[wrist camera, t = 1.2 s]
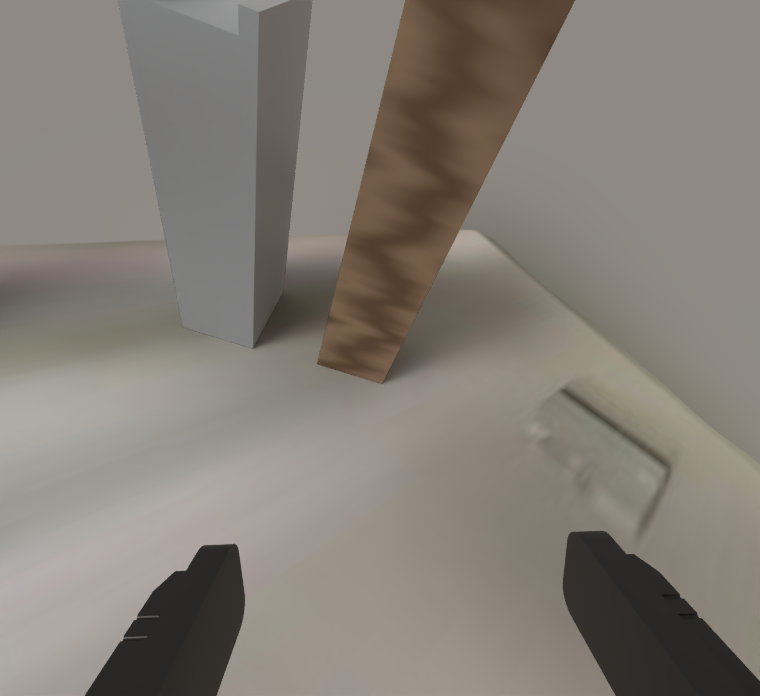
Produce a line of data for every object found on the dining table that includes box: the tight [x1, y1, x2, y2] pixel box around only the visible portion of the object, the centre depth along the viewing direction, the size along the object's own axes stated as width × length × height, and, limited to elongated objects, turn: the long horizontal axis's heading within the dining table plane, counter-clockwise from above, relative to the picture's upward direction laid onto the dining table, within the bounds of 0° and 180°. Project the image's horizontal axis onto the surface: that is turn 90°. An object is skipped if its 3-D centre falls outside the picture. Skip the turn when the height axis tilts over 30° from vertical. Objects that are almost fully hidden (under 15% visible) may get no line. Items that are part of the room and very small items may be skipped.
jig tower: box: [317, 0, 575, 384], centre depth 29 cm, size 7×8×33 cm
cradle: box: [118, 0, 312, 348], centre depth 30 cm, size 7×9×26 cm
